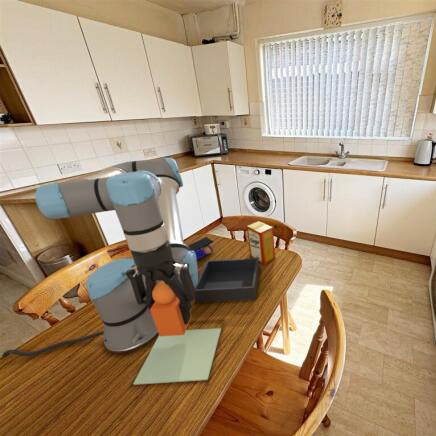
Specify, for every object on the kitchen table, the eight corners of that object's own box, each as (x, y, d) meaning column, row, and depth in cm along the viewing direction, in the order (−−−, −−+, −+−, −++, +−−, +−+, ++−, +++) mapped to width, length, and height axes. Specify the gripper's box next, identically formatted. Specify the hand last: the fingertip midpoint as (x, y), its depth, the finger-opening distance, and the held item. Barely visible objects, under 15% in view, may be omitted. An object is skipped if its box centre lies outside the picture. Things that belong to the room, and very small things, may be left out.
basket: (195, 303, 82) (192, 290, 80) (209, 271, 98) (207, 260, 96) (255, 300, 82) (253, 287, 80) (259, 269, 98) (258, 257, 96)
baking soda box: (275, 258, 105) (272, 226, 98) (263, 265, 101) (260, 232, 94) (261, 251, 111) (258, 220, 104) (250, 257, 107) (246, 225, 100)
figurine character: (188, 271, 101) (217, 252, 110) (182, 257, 97) (213, 239, 106) (180, 265, 105) (209, 248, 114) (174, 252, 101) (204, 235, 110)
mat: (133, 384, 58) (133, 383, 58) (165, 324, 74) (165, 323, 74) (207, 380, 58) (207, 379, 58) (223, 320, 75) (223, 320, 75)
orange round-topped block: (159, 336, 60) (143, 292, 54) (169, 317, 65) (155, 275, 59) (183, 335, 60) (169, 291, 54) (191, 316, 65) (180, 274, 59)
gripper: (198, 234, 56) (215, 307, 65) (116, 238, 55) (145, 311, 65) (187, 251, 49) (207, 330, 59) (93, 256, 48) (129, 335, 58)
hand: (174, 320), depth 62 cm, fingers closed on orange round-topped block, 6 cm apart
